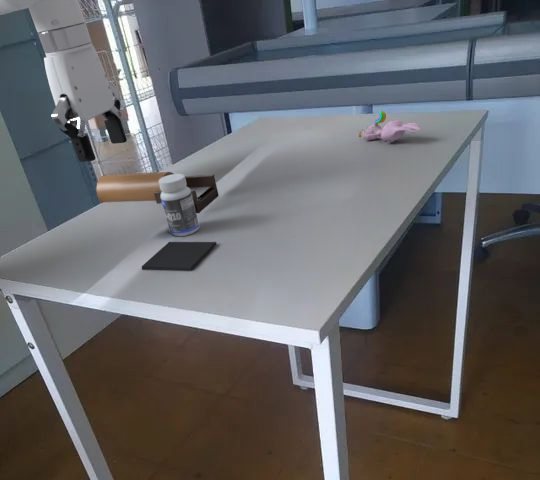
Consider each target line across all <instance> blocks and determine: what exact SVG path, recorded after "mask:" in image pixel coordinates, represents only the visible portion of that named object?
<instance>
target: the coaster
mask: <svg viewBox="0 0 540 480" xmlns="http://www.w3.org/2000/svg"><path fill="white" fill-rule="evenodd" d="M216 246H217V242H216V241H168V242H167V243H166V244H165V245H164V246H163V247H162V248H160V249H159V250H158V251H157V252H156V253H155V254H153V256H151V257H150V258H149V259H148V260H147V261H146V262H144V263H143V265H141V269H142V270H147V271H149V270H151V271H153V270H154V271H185V272H186V271H189V272H191V271H193V270H194V269H195V268H196V267H197V266H198V265H199V264H200V263H201V262H202V261H203V259H204V258H205V257H206V256H207V255H208V254H209V253H211V251H212V250H213V249H214V248H215V247H216Z"/></svg>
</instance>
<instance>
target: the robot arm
mask: <svg viewBox="0 0 540 480" xmlns="http://www.w3.org/2000/svg"><path fill="white" fill-rule="evenodd" d="M26 9H28V11H29V13H30V16H31V19H32V21H33V24H34V27H35V30H36V32H37V35H38V38H39V40H40V43H41V46H42V49H43V52H44V54H45V57H43V63H44V68H45V74H46V78H47V82H48V85H49V90H50V92H51V95H52V98H53V102H54V105H55V108H54V109H53V111H52V113H51V119H52V120H53V122H54V123H55V124H56V125H57V127H59V130H60V131H61V132H62V133H64V134H65V135H66V138H67V139H70V141H71V143H72V147H73V148H74V151H75V154H76V157H77V160H78V161H79V162H80V163H85V162H86V163H87V162H94V161H95V160H96V155H95V152H94V148H93V147H92V144H91V140H90V138H89V136H88V135H86V134H85V132H86V122H88V121H90V120H92V119H95V118H97V117H99V116H101V115H102V116H103V117H104V119H105V120H104V121H103V122H104V126H105V128H106V131H107V135H108V138H109V140H110V143H111V144H113V145H115V144H125V143H127V141H128V139H127V135H126V132H125V129H124V126H123V122H122V120H121V118H122V113H121V100H120V89H119V87H117V86H114V85H113V84H110V82H109V79H108V76H107V74H106V71H105V68H104V66H103V64H102V61H101V59H100V57H99V55H98V52H97V50H96V48H95V46H94V45H93V42H92V38H91V35H90V32H89V30H88V26H87V23H86V19H85V17H84V13H83V10H82V7H81V4H80V1H79V0H0V16H2V15H7V14H11V13H13V12H18V11H21V10H26Z"/></svg>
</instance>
